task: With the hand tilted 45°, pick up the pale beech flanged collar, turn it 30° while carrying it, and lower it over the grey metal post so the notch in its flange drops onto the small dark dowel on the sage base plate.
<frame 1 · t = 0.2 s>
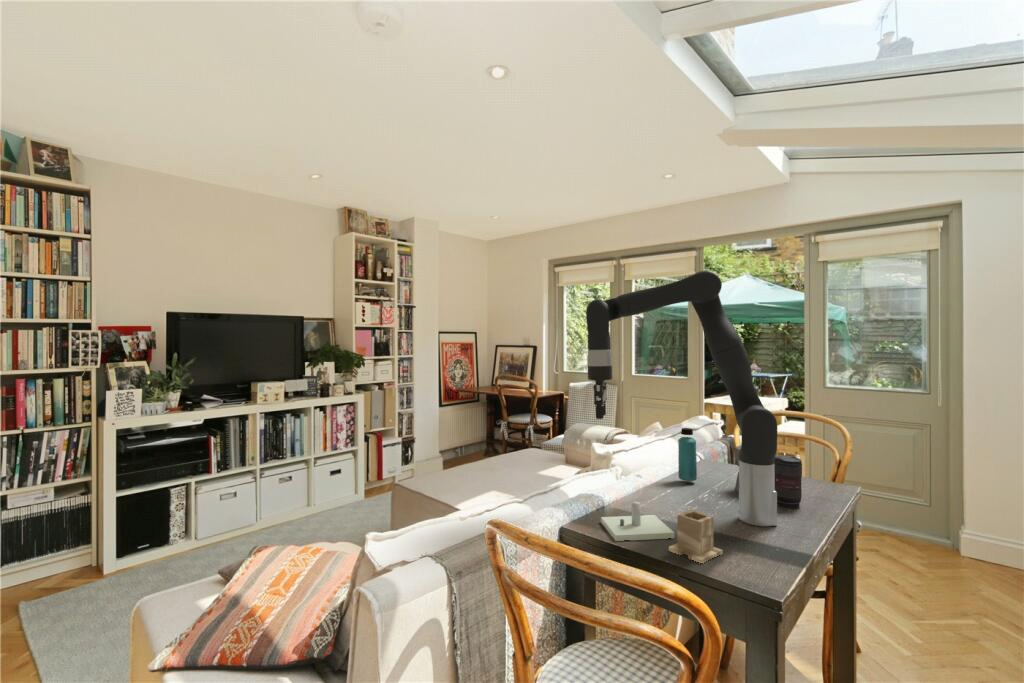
hand: (601, 416, 148), 29 cm above the table, tool pointing down, fingers open, 8 cm apart
beverage bottle: (687, 483, 176), on the table
flange collar: (695, 552, 118), on the table
camera lens: (787, 505, 152), on the table
coffeepot: (749, 491, 167), on the table
post plate: (636, 530, 132), on the table
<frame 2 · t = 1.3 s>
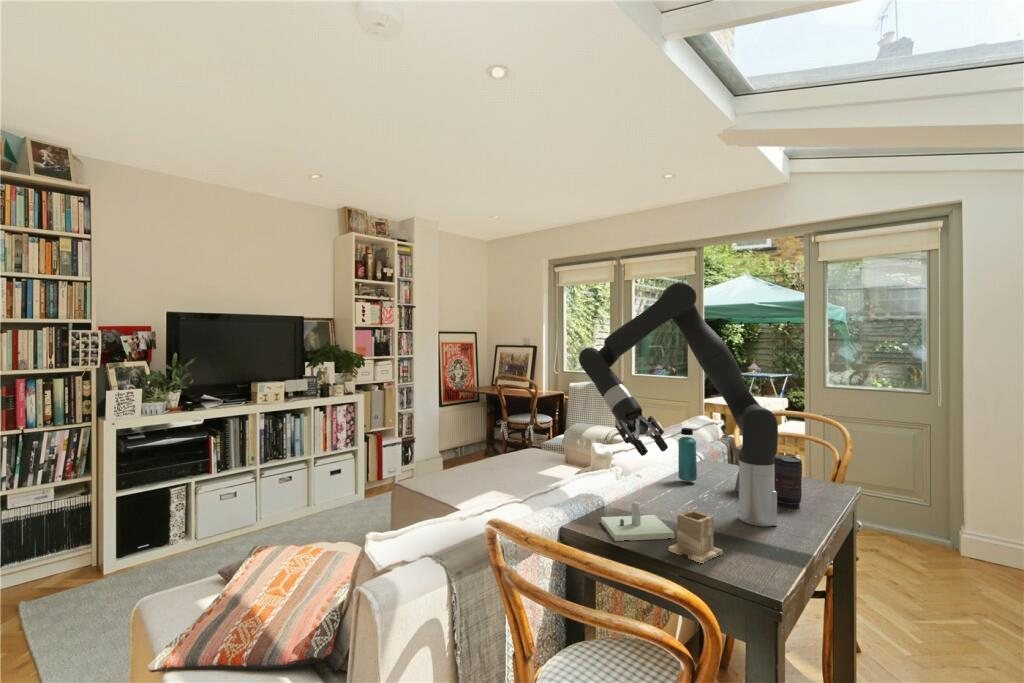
hand: (655, 451, 128), 23 cm above the table, tool tilted 45°, fingers open, 8 cm apart
nothing on the table moved.
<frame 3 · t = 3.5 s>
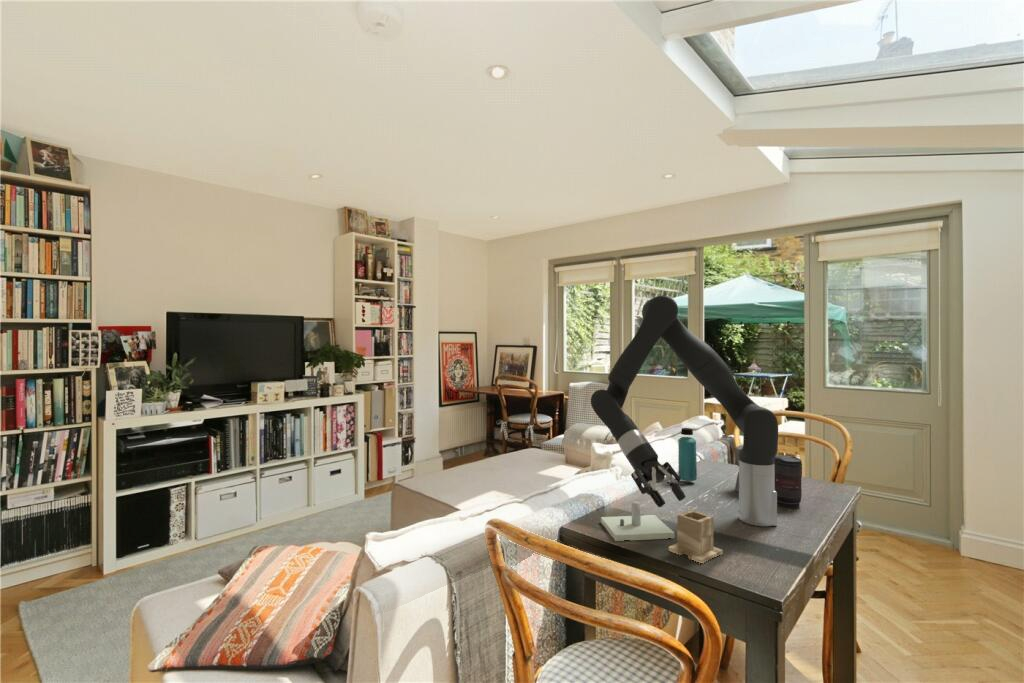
hand: (672, 502, 123), 11 cm above the table, tool tilted 45°, fingers open, 8 cm apart
nothing on the table moved.
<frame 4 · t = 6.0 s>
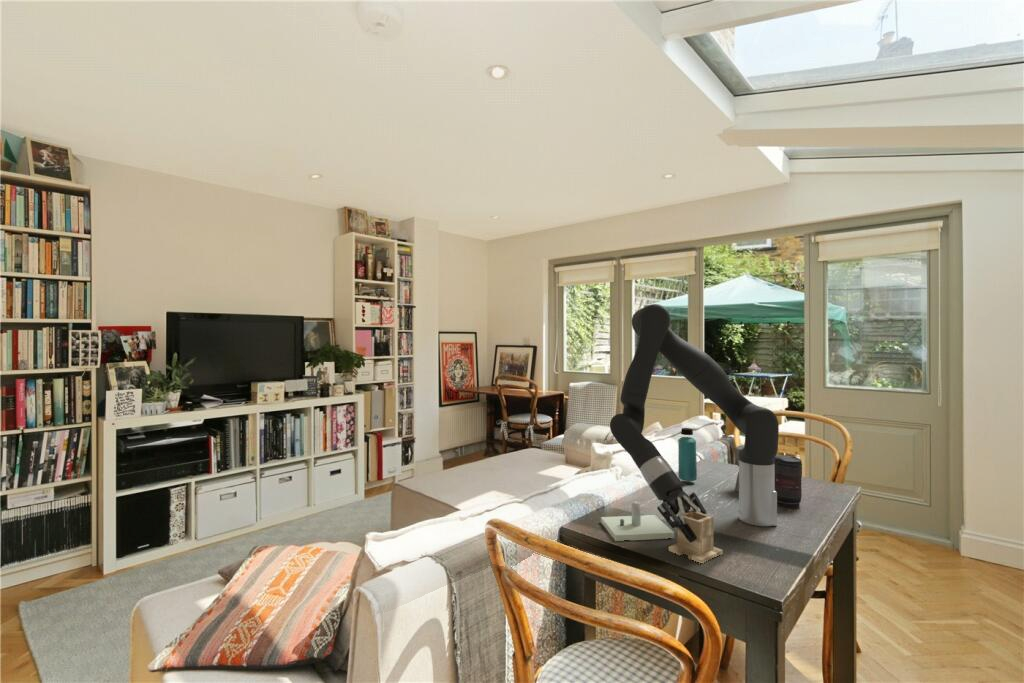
hand: (701, 537, 117), 4 cm above the table, tool tilted 45°, fingers closed on flange collar, 6 cm apart
flange collar: (695, 552, 118), on the table, touching gripper
everything else where it was.
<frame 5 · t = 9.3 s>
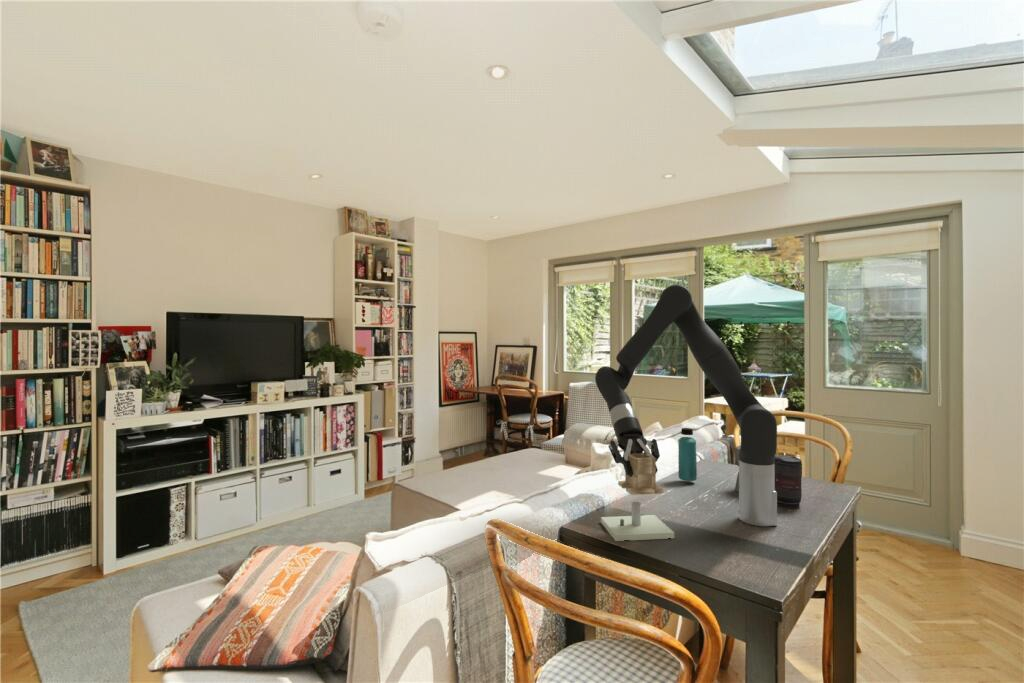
hand: (642, 474, 129), 16 cm above the table, tool tilted 45°, fingers closed on flange collar, 6 cm apart
flange collar: (640, 488, 130), point 12 cm above the table, touching gripper
everything else where it was.
when the fingers open (7 cm above the table, at t = 12.6 s): flange collar drops 1 cm, resting on post plate.
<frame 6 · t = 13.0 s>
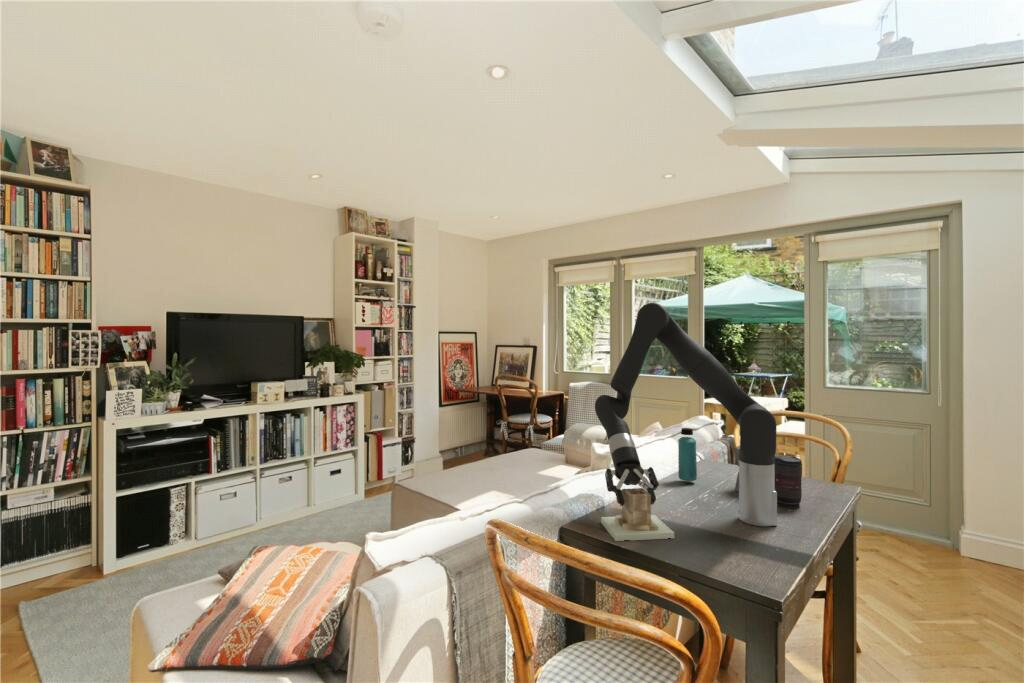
hand: (637, 503, 131), 8 cm above the table, tool tilted 45°, fingers open, 8 cm apart
flange collar: (636, 524, 132), point 1 cm above the table, touching post plate
everything else where it was.
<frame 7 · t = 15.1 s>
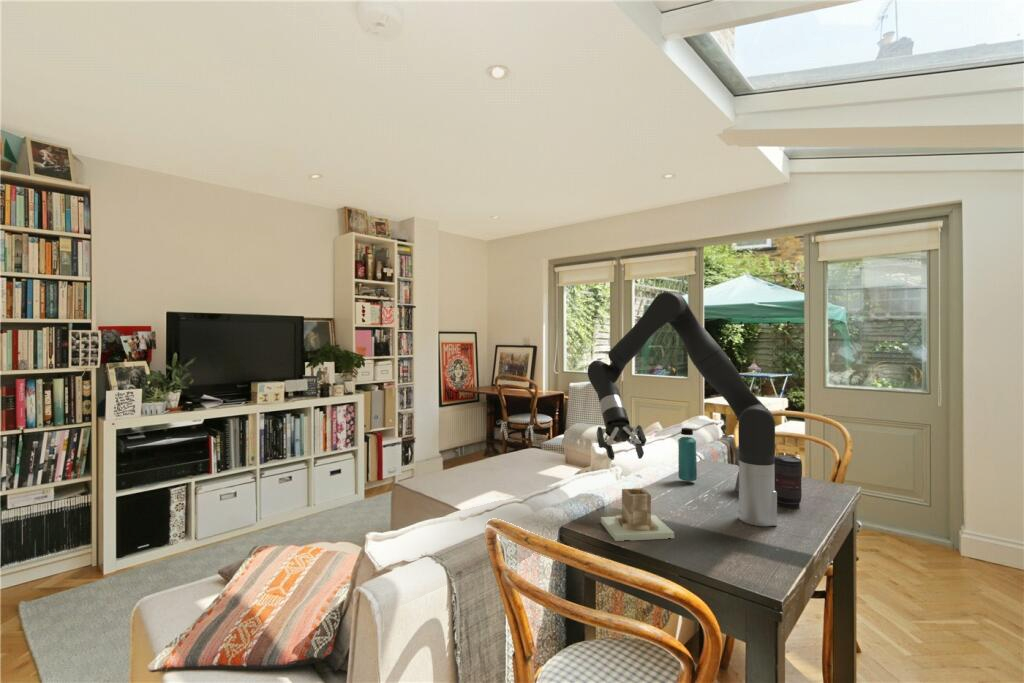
hand: (626, 457, 141), 18 cm above the table, tool tilted 45°, fingers open, 8 cm apart
nothing on the table moved.
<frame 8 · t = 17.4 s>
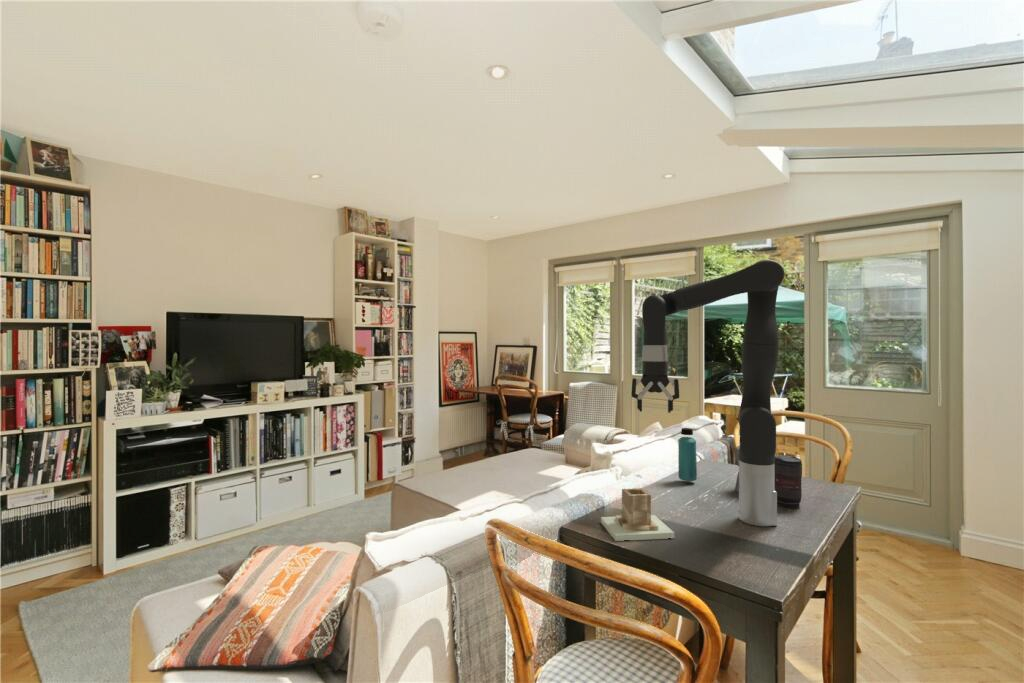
hand: (654, 411, 149), 30 cm above the table, tool pointing down, fingers open, 8 cm apart
nothing on the table moved.
at the end: flange collar 0.1 cm from the post plate (horizontally); flange collar point 1.5 cm above the table; flange collar tilted 0° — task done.
